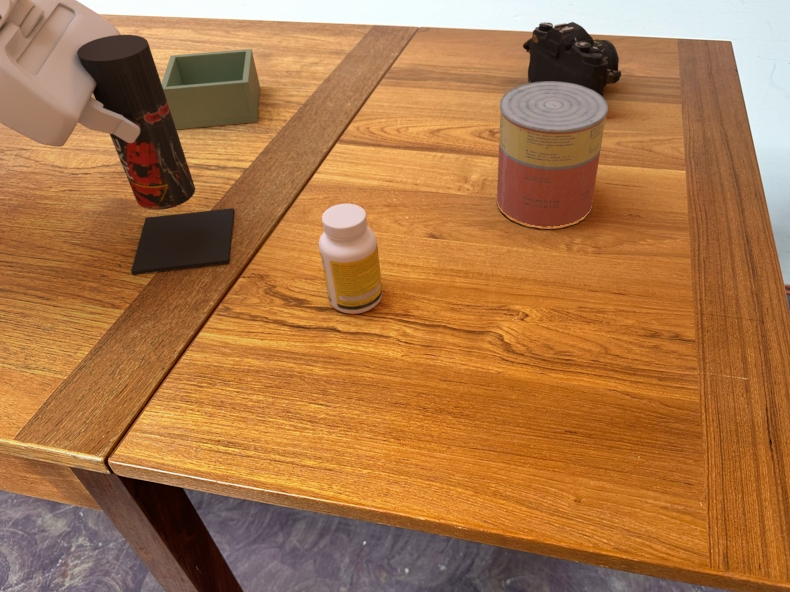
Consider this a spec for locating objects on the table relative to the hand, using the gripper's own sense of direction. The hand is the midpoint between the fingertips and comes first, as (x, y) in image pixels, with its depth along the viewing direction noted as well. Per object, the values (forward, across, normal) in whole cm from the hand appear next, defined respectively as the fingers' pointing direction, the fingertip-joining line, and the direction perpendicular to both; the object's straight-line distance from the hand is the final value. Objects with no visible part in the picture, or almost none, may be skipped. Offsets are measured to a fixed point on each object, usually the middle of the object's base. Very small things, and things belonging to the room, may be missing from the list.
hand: (144, 116), depth 63 cm
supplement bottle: (+23, +13, +2) cm, 26 cm away
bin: (+11, -33, -10) cm, 36 cm away
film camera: (+48, -27, +27) cm, 61 cm away
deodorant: (+6, 0, -7) cm, 9 cm away
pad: (+10, 0, -11) cm, 15 cm away
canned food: (+39, 0, +18) cm, 43 cm away
